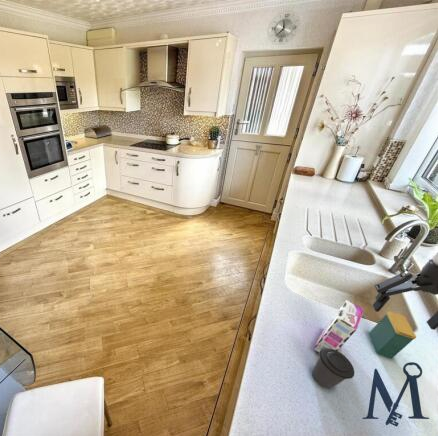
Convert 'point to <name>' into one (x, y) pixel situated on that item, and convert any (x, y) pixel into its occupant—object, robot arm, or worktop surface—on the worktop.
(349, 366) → the coffee cup
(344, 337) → the candy bar box
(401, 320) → the carton
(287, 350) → the worktop surface
